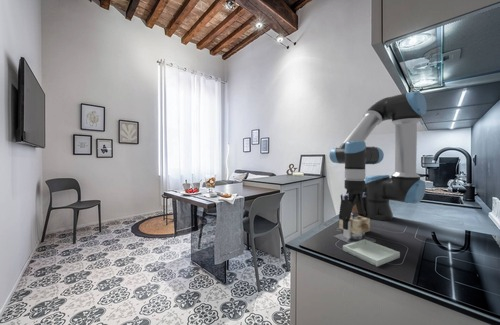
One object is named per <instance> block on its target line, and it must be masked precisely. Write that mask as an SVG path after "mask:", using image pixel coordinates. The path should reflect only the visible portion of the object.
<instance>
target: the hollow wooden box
mask: <svg viewBox="0 0 500 325" xmlns="http://www.w3.org/2000/svg"><path fill="white" fill-rule="evenodd" d="M346 218H347V217H346ZM349 221H350V222H351V233H354V234H361V233H364V232H365V233H367V232H370V231H371V218H366V217H362V216H358V219H356V220H355V219H352V218H351V216H350V219H349ZM338 222H339V223H338V225H339V226H338V229H340V230H343V220H341V219H339V218H338Z"/></svg>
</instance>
